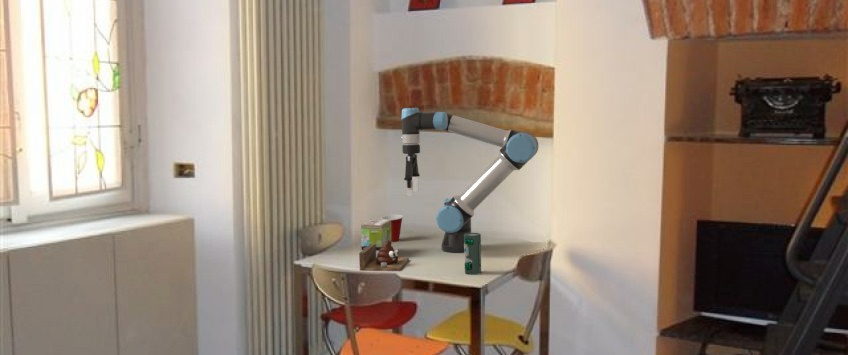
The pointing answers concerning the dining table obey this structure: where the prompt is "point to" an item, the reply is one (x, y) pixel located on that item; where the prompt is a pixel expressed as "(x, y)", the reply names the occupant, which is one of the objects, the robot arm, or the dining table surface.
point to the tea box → (375, 233)
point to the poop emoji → (387, 254)
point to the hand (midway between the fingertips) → (412, 193)
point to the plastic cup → (394, 226)
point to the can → (472, 253)
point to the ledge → (370, 264)
